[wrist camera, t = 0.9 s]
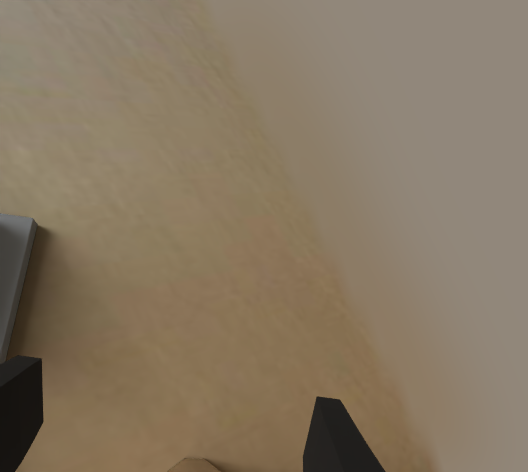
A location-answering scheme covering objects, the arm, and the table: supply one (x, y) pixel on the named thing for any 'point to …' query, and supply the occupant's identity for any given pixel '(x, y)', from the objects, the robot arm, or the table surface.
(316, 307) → the table surface
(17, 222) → the rail board
